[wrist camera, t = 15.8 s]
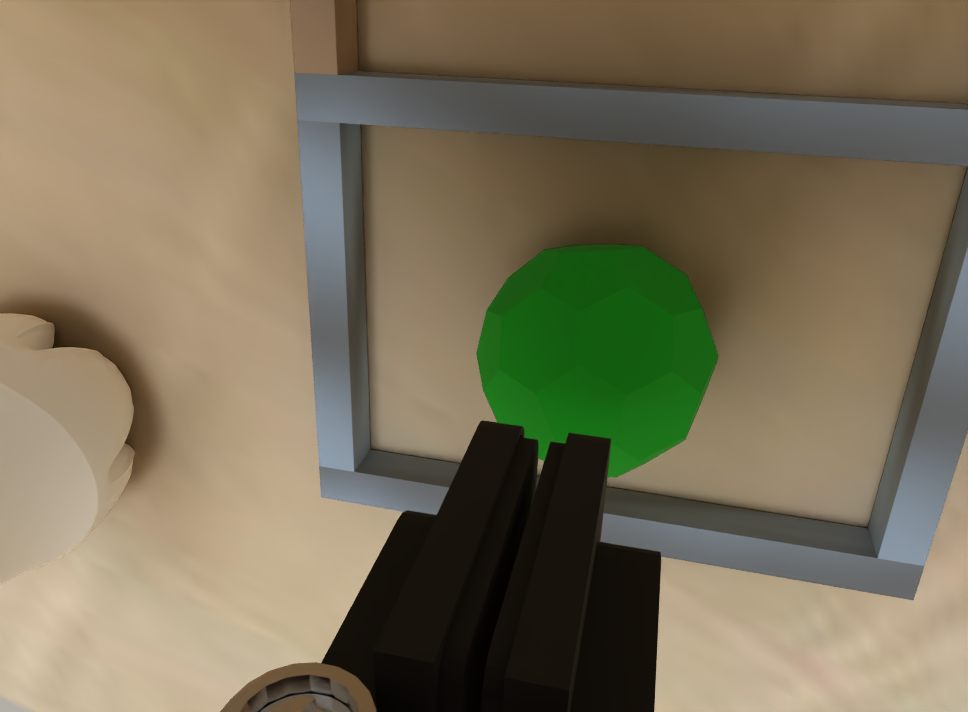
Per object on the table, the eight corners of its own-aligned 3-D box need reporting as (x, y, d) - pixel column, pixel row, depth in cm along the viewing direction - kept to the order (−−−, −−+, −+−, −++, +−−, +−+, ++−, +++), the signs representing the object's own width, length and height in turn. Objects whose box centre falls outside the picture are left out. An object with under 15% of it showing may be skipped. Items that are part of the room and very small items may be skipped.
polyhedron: (470, 339, 20) (409, 426, 16) (575, 175, 18) (538, 226, 14) (633, 446, 20) (617, 562, 16) (759, 296, 18) (779, 386, 14)
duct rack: (287, -523, 14) (254, -566, 13) (1269, -633, 11) (1330, -702, 10) (338, 474, 23) (320, 497, 22) (901, 567, 20) (913, 600, 19)
